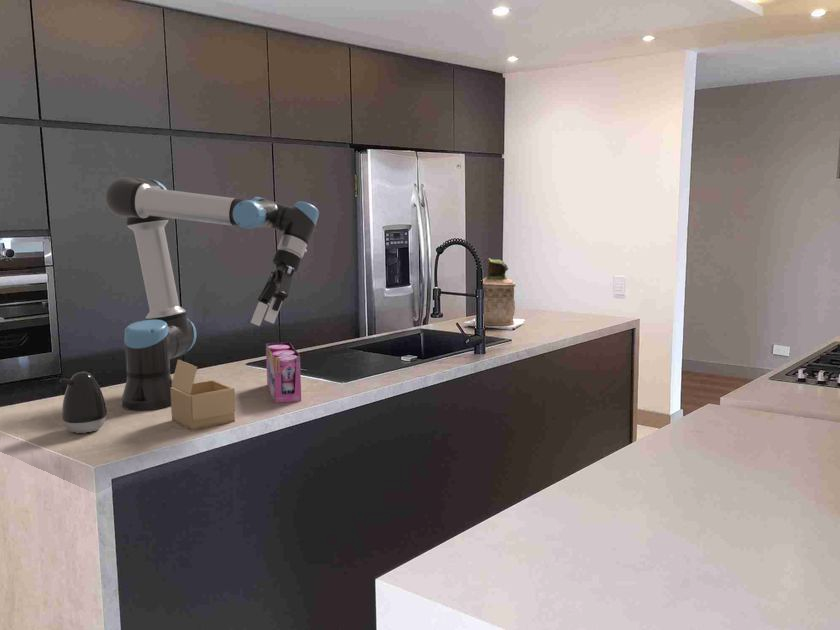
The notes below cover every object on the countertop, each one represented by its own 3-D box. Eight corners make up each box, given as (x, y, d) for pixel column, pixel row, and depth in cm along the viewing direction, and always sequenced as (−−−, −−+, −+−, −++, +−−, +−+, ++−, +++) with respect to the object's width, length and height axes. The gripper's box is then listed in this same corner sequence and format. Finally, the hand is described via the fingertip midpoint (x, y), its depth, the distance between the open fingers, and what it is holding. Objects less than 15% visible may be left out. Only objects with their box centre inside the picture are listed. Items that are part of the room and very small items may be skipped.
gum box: (303, 402, 207) (301, 356, 205) (275, 404, 205) (273, 358, 203) (291, 383, 230) (290, 341, 227) (266, 385, 227) (265, 343, 225)
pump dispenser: (56, 431, 181) (51, 372, 178) (97, 421, 188) (93, 365, 186) (72, 439, 174) (67, 379, 171) (114, 430, 181) (110, 371, 179)
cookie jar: (514, 330, 325) (515, 260, 321) (462, 327, 334) (463, 259, 329) (526, 322, 348) (527, 256, 343) (477, 319, 357) (478, 255, 352)
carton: (171, 419, 190) (169, 386, 189) (215, 411, 198) (213, 379, 197) (192, 431, 180) (190, 396, 179) (237, 421, 189) (235, 388, 187)
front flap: (172, 385, 188) (171, 385, 188) (179, 359, 189) (177, 359, 188) (190, 394, 180) (189, 393, 180) (197, 366, 180) (196, 366, 180)
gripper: (316, 253, 193) (288, 326, 188) (287, 265, 215) (261, 330, 210) (291, 241, 190) (262, 315, 185) (264, 254, 212) (237, 320, 207)
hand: (261, 323), depth 198 cm, fingers open, 13 cm apart
